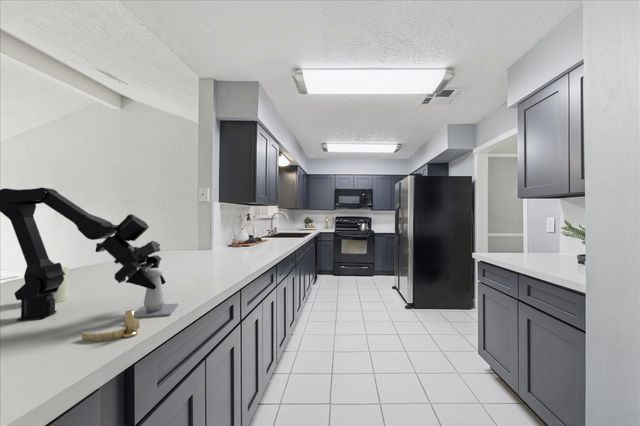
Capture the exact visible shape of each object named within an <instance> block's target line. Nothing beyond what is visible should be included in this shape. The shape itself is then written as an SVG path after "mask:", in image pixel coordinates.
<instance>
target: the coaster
mask: <svg viewBox="0 0 640 426" xmlns="http://www.w3.org/2000/svg"><path fill="white" fill-rule="evenodd" d="M178 306H179V302H177V303H166V304H165V303H164V305H163V306H162V308H161V310H158V311H155V312H148V311H147V310H146V308H145V306H144V305H141V306H140V307H139V308H137V310H134V318H136V319H146V318H147V319H149V318H157V317H158V318H159V317H160V318H161V317H170V316H171V315H172V314H171V313H174V311H175V310H176V309H175V308H178Z"/></svg>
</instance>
